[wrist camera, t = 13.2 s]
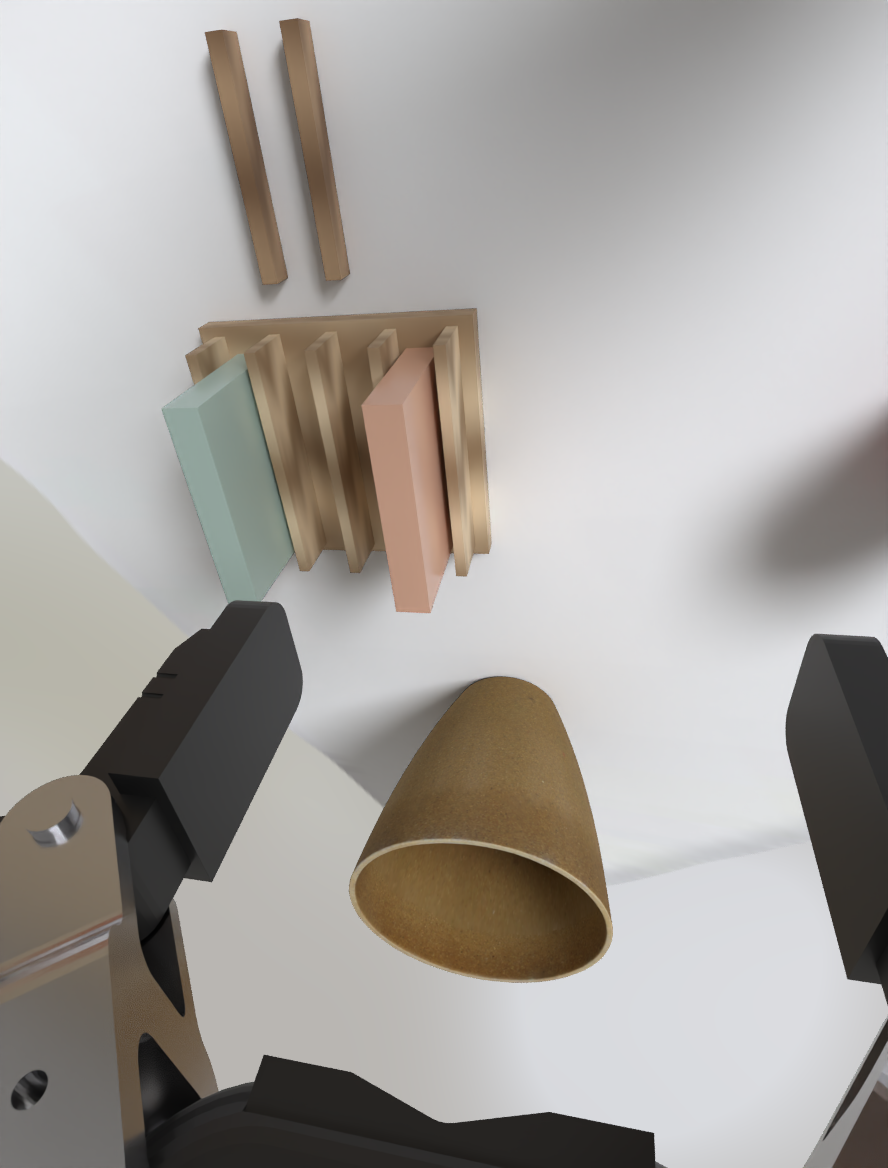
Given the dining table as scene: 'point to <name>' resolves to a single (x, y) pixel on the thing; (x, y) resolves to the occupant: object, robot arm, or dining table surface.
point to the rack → (355, 419)
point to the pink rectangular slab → (410, 478)
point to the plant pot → (489, 846)
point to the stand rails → (250, 155)
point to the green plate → (232, 479)
